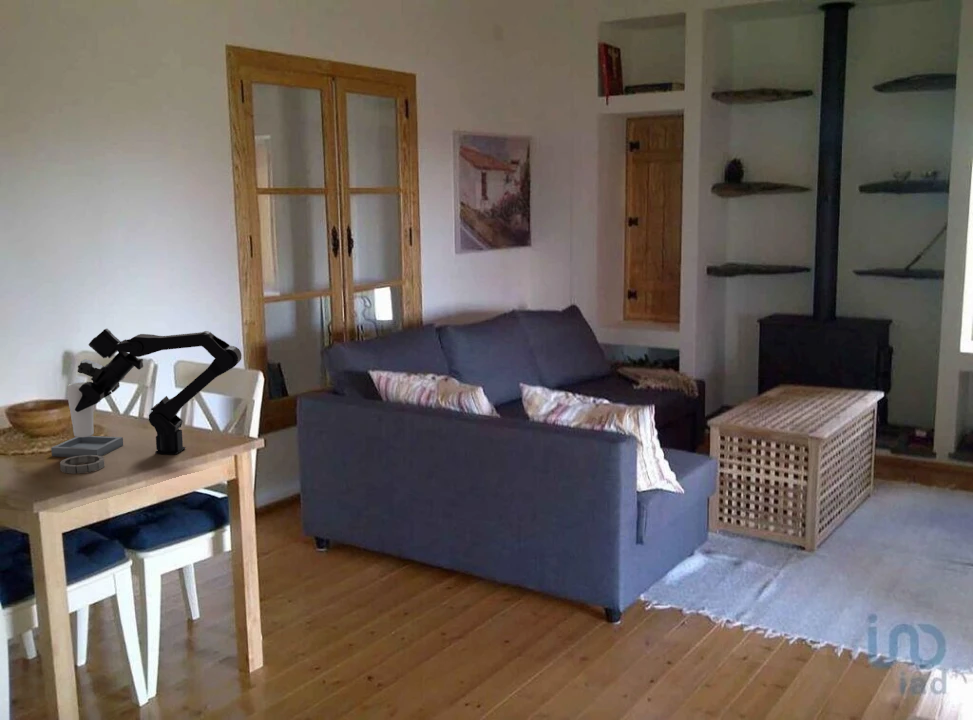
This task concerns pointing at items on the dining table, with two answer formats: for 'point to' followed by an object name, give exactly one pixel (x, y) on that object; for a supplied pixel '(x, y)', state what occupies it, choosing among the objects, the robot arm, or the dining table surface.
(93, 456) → the holder ring
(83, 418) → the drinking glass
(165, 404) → the robot arm
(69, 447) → the tray
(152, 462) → the dining table surface
